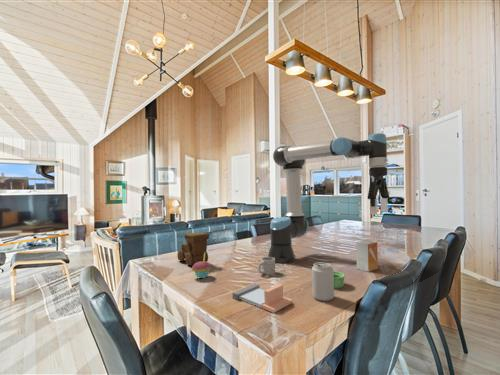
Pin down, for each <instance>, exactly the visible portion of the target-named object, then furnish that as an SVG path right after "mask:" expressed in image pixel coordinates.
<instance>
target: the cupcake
mask: <svg viewBox="0 0 500 375" xmlns="http://www.w3.org/2000/svg"><path fill="white" fill-rule="evenodd" d="M211 269H212V264H210V263H209V262H208V261H207V262H206V261H205V253H204V258H203V261H200V262H196V263H193V264H192V265H191V270H192V272H194V273H195V276H197V277H199V278H204V279H206V278H205V277H207V278H208V275H209V273H210V270H211ZM197 277H196V278H197Z"/></svg>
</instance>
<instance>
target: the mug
mask: <svg viewBox="0 0 500 375" xmlns="http://www.w3.org/2000/svg"><path fill="white" fill-rule="evenodd" d="M257 266H258V267H257V270H258V271H257V272H258V273H259V274H262V275H266V276H273V275H275V274H276V262H275V258H273V257H268V256H264V257H261V258H260V262H259V263H258V265H257Z"/></svg>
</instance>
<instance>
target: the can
mask: <svg viewBox="0 0 500 375" xmlns="http://www.w3.org/2000/svg"><path fill="white" fill-rule="evenodd" d="M333 271H334V268H332V264H331V263H328V262H323V261H322V262H320V261H319V262H315V263H313V266H312V268H311V291H312V293H311V294H312V296H313V297H314V299H316V300H317V301H321V302H329V301H331V300H333V298H335V288H334V276H333Z"/></svg>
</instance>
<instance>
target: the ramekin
mask: <svg viewBox="0 0 500 375" xmlns="http://www.w3.org/2000/svg"><path fill="white" fill-rule="evenodd" d="M333 276H334V289H342V288H343V287H344V283H345V276H346V275H345V274H344V273H343V272H340V271H336V270H333Z"/></svg>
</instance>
